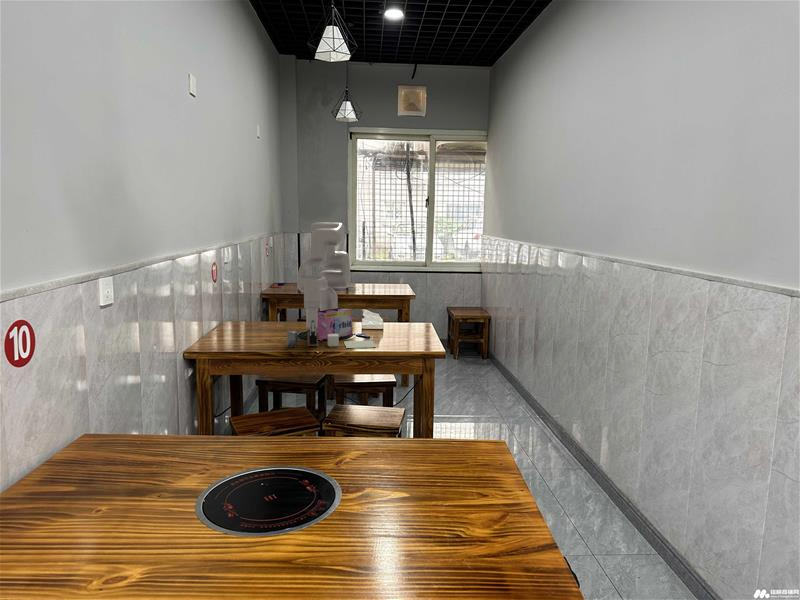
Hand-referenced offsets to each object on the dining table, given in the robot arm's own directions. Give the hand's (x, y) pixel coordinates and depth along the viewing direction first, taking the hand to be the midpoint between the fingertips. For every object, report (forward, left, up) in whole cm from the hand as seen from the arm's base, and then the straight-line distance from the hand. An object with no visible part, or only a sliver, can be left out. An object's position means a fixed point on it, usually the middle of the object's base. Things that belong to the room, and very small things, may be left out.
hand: (312, 342), depth 264 cm
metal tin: (0, -10, -2) cm, 10 cm away
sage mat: (+2, +22, -2) cm, 22 cm away
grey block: (0, +9, -2) cm, 10 cm away
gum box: (-19, +10, -2) cm, 22 cm away
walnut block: (0, 0, -2) cm, 2 cm away
